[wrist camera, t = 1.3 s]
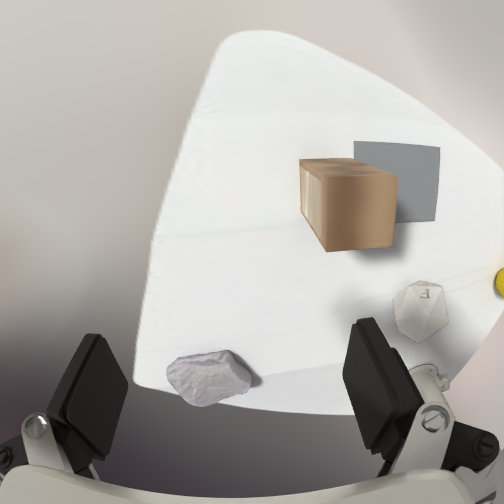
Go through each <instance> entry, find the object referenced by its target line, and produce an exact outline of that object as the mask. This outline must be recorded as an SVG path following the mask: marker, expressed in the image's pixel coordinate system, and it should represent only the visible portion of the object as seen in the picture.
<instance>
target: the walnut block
mask: <svg viewBox="0 0 504 504" xmlns="http://www.w3.org/2000/svg"><path fill="white" fill-rule="evenodd" d="M299 166H300V193H301V212H302V214H303V215H304V217H305V219H306V220H307V222H308V223H309V225H310V227H311V228H312V230H313V231H314V233H315V235H316V236H317V238H318V240H319V241H320V243H321V244H322V246H323V248H324V249H325V251H326V252H335V251H346V250H358V249H369V248H381V247H392V243H393V235H394V225H395V215H396V203H397V188H398V176H396V175H393V174H391V173H388V172H386V171H383V170H381V169H378V168H376V167H373V166H370V165H368V164H365V163H362V162H359V161H357V160H354V159H351V158H329V159H299Z"/></svg>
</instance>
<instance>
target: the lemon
mask: <svg viewBox="0 0 504 504" xmlns="http://www.w3.org/2000/svg"><path fill="white" fill-rule="evenodd" d="M496 288H497V291H498V292H499V294H500V295H501V296H502V297H503V298H504V268H503V269H502V270H501V271H500V272H498V273H497V278H496Z"/></svg>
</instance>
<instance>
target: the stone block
mask: <svg viewBox="0 0 504 504" xmlns="http://www.w3.org/2000/svg"><path fill="white" fill-rule="evenodd" d="M166 375H167V379H168V381H169V383H170V384H171V385H172V386H173V387H174V389H175V390H176V391H177V392H178V394H179V395H181V396H182V397H183V398H184V400H186V401H187V402H188V403H190V404H191V405H196V406H203V407H204V406H208V405H211V404H213V403H216V402H218V401H220V400H222V399H223V398H225V397H227V396H232V395H235V394H244V393H246V392H247V391H248V390H249V389H250V387H251V383H252V376H251V373H250V372H249V371H248V370H247V369H246V368H245V367H244V366H242V365H241V364H240V363H238V362H237V361H236V360H235V358H234V356H233V355H232V354H231V353H230V352H229V351H219V352H212V353H207V354H196V355H191V356H186V357H179V358H177V359H176V360H175V361H174V362H173V363H172V364H171V365H169V366H168V367H167V370H166Z"/></svg>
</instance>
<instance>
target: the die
mask: <svg viewBox="0 0 504 504" xmlns="http://www.w3.org/2000/svg"><path fill="white" fill-rule="evenodd" d="M393 305H394V314H395V322H396V325H397V328H398V331H399V332H400V333H402V334H403V335H405V336H407V337H409V338H411V339H413V340H414V341H416V342H418V343H421V342H423V341H424V340H425V339H427V338H428V337H430V336H431V335H433V334H434V333H435V332H437V331H438V330H439V329H441V328H442V327H443V326H445V325H446V324H447V323H449V322H448V315H447V309H446V303H445V297H444V292H443V287H441V286H437V285H433V284H430V283H426V282H423V281H418V282H416V283H414V284H412V285H410V286H408V287H407V288H406V289H405V290H404V291H402V292H401V293H400V294H399V295H398V296H396V297H395V298H394V299H393Z"/></svg>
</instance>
